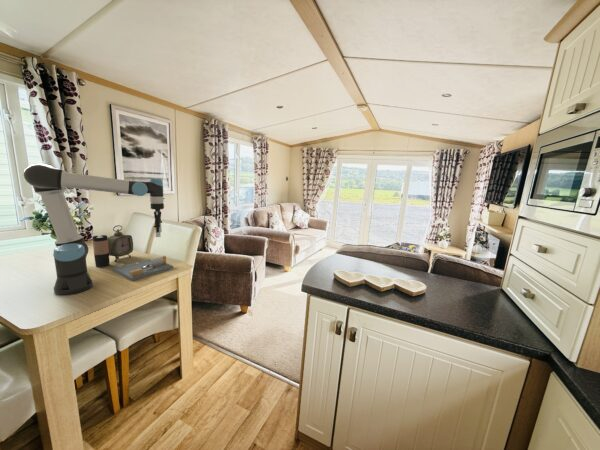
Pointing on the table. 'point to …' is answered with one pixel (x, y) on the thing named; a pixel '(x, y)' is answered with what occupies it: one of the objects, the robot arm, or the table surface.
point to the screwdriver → (138, 271)
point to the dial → (155, 262)
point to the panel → (137, 265)
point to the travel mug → (101, 251)
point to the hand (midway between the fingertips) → (158, 234)
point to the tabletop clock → (120, 244)
